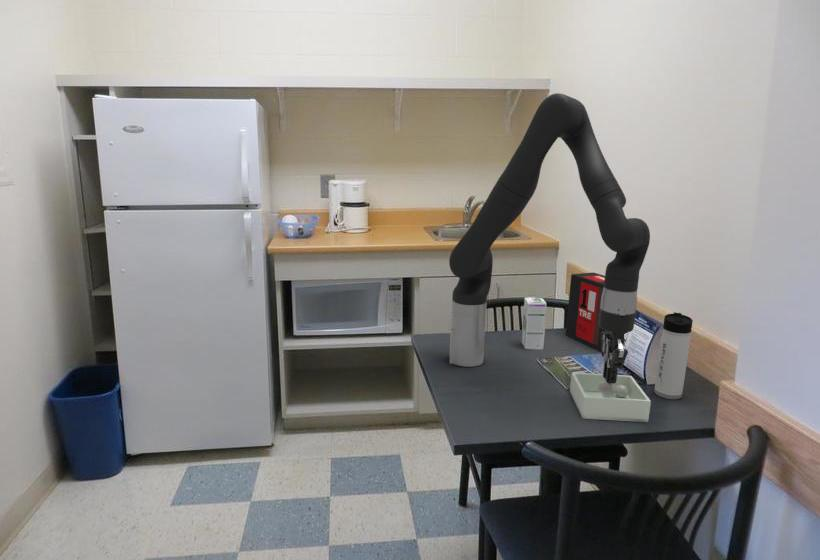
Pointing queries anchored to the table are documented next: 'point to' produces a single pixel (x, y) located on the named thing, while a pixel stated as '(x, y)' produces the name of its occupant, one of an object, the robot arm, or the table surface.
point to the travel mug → (673, 356)
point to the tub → (609, 399)
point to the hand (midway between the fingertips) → (609, 380)
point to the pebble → (622, 391)
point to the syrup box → (534, 323)
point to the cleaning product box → (585, 309)
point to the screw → (608, 389)
